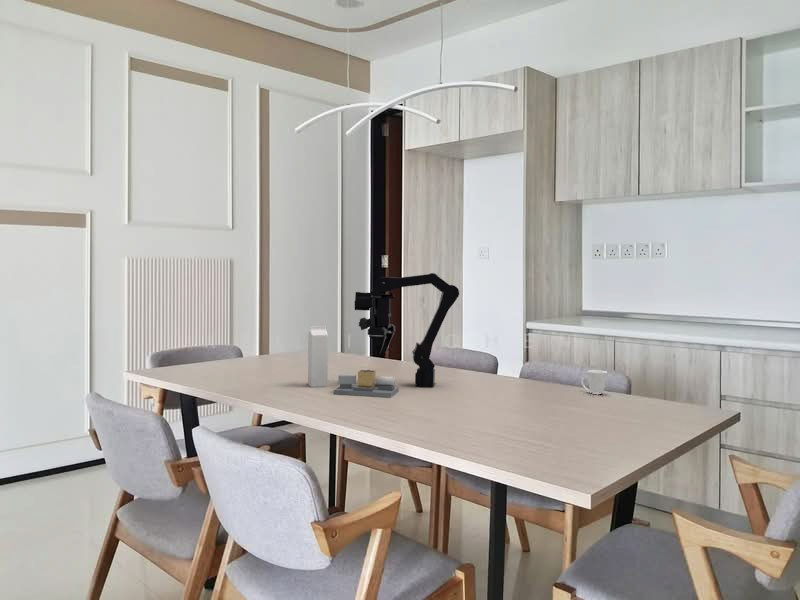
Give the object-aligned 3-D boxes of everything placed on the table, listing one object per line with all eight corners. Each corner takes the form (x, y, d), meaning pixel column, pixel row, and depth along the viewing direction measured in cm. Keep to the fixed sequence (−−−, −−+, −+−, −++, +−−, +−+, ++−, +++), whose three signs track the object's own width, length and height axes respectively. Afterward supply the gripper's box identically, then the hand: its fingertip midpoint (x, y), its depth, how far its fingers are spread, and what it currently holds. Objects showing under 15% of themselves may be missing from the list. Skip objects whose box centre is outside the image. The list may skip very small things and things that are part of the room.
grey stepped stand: (398, 391, 226) (398, 374, 225) (390, 397, 214) (391, 379, 214) (344, 388, 230) (344, 371, 230) (333, 394, 218) (333, 376, 218)
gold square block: (375, 387, 224) (375, 369, 224) (371, 390, 219) (372, 372, 219) (361, 386, 225) (361, 369, 225) (357, 389, 220) (357, 371, 220)
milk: (307, 384, 236) (308, 325, 236) (323, 384, 239) (324, 324, 238) (311, 387, 231) (311, 326, 230) (327, 386, 233) (328, 326, 232)
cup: (599, 396, 222) (600, 373, 222) (575, 392, 230) (576, 369, 230) (611, 394, 226) (611, 371, 226) (587, 390, 234) (587, 368, 234)
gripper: (368, 308, 248) (367, 349, 248) (354, 311, 229) (353, 354, 230) (396, 309, 245) (395, 350, 246) (384, 312, 227) (383, 356, 228)
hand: (381, 352), depth 237 cm, fingers open, 9 cm apart
